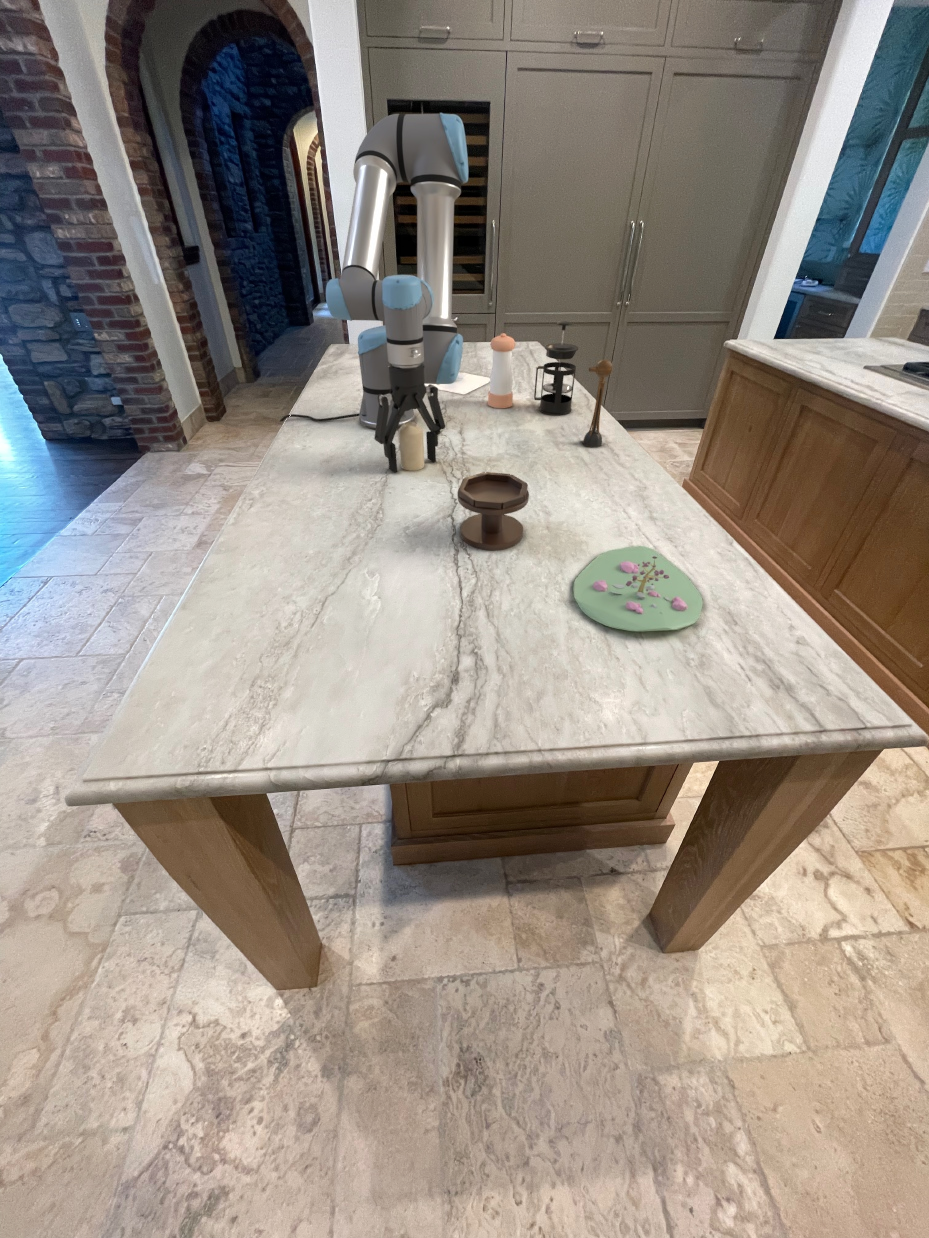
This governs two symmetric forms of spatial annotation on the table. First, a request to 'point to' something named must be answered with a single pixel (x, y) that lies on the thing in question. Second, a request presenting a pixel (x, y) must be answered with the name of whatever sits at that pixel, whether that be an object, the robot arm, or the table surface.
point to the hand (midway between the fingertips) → (412, 465)
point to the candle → (411, 446)
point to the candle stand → (492, 510)
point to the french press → (557, 378)
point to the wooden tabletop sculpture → (597, 404)
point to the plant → (637, 591)
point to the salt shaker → (501, 372)
